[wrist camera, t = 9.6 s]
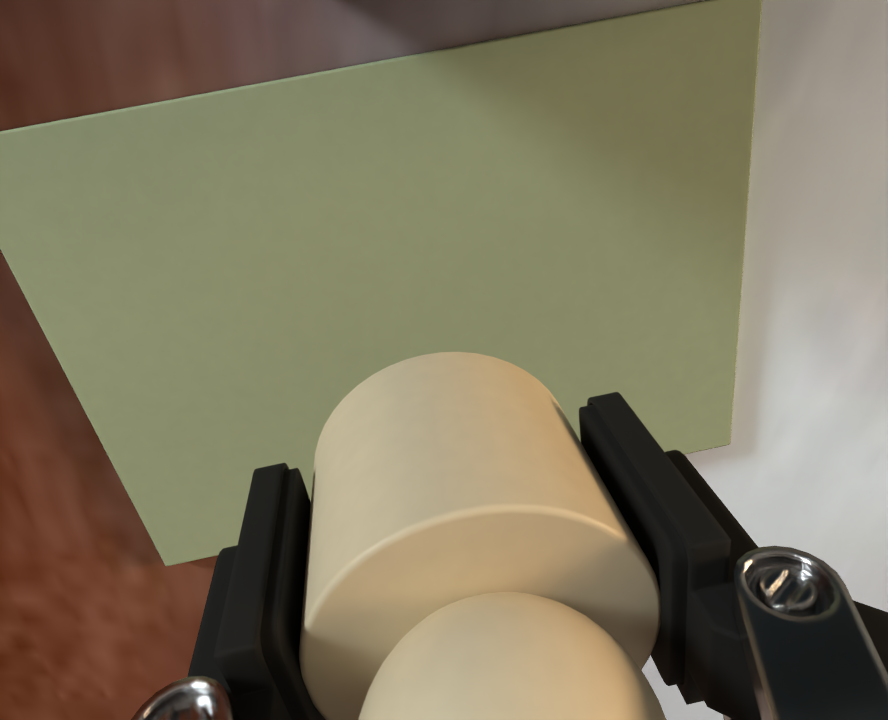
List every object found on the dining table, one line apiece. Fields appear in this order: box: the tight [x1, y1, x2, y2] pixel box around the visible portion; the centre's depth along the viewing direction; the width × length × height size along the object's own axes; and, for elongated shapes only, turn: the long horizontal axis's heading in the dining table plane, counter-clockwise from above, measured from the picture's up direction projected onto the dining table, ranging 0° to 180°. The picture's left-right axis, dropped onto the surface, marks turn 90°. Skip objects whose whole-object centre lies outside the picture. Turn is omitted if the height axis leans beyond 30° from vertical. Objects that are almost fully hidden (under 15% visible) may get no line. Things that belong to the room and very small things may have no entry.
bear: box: [299, 352, 666, 720], centre depth 9 cm, size 5×6×8 cm
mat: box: [0, 0, 762, 566], centre depth 19 cm, size 20×14×1 cm
